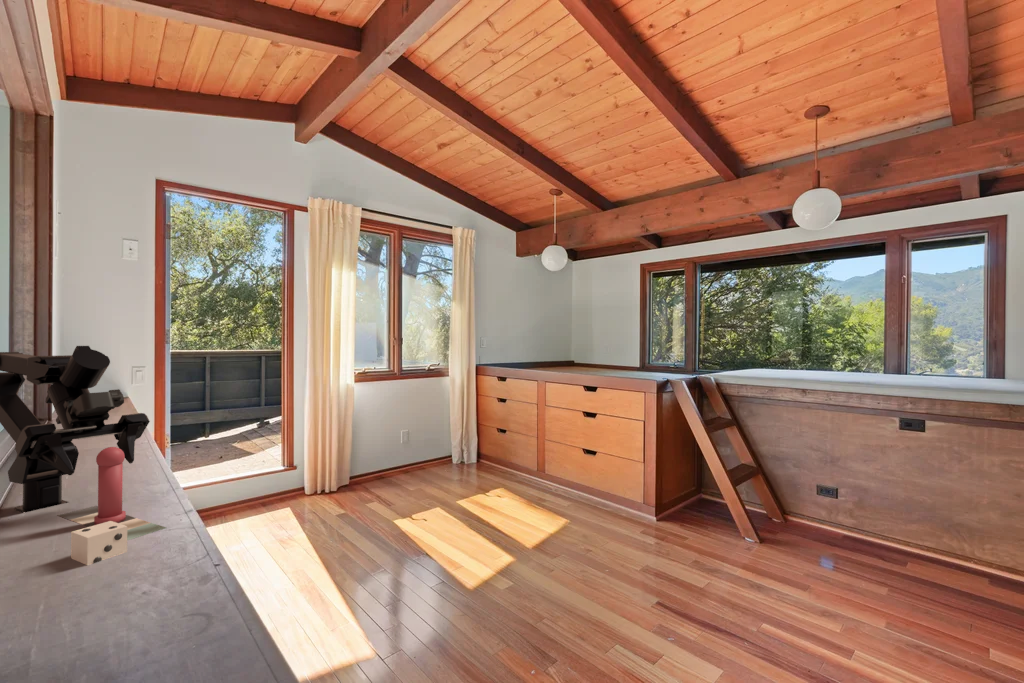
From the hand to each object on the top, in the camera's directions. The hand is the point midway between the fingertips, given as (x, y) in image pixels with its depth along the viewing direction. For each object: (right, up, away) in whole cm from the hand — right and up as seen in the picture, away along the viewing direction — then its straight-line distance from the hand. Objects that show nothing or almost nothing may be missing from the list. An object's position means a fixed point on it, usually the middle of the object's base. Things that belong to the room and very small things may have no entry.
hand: (103, 467), depth 88 cm
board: (+2, -10, -1) cm, 11 cm away
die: (+12, -10, -15) cm, 22 cm away
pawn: (+2, -9, -1) cm, 10 cm away
